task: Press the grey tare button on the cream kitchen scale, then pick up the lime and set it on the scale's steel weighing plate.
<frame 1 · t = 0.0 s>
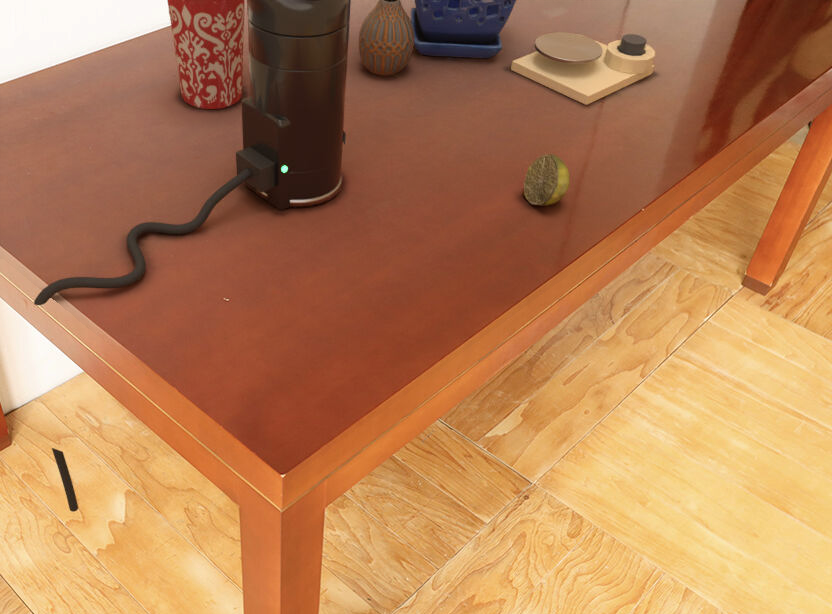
vase: (383, 70, 109), on the table
flower pot: (453, 44, 115), on the table
lime: (540, 202, 88), on the table
scale: (581, 72, 110), on the table
tare button: (632, 45, 108), point 3 cm above the table, slide at 0.1 cm
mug: (219, 91, 103), on the table
weighing plate: (567, 49, 107), resting on scale
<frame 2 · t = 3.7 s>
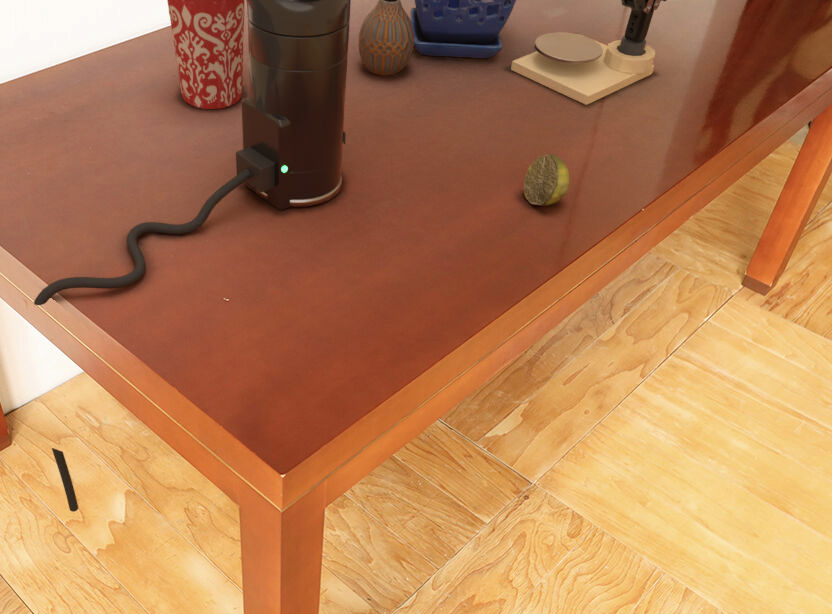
hand: (634, 39, 107), 4 cm above the table, tool pointing down, fingers closed
tare button: (632, 46, 108), point 3 cm above the table, slide at 0.0 cm, touching gripper
everything else where it was.
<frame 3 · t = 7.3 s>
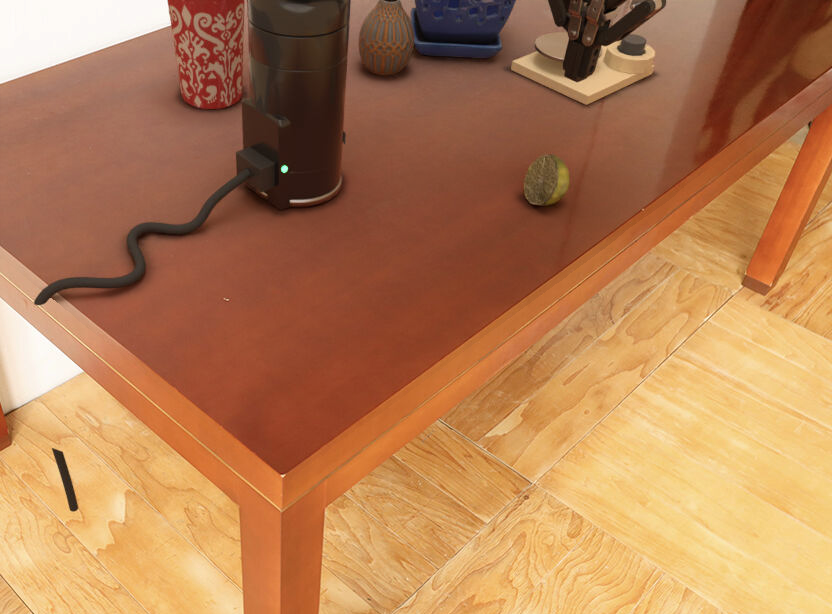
hand: (576, 77, 84), 11 cm above the table, tool pointing down, fingers closed
tare button: (632, 45, 108), point 3 cm above the table, slide at 0.1 cm
everything else where it was.
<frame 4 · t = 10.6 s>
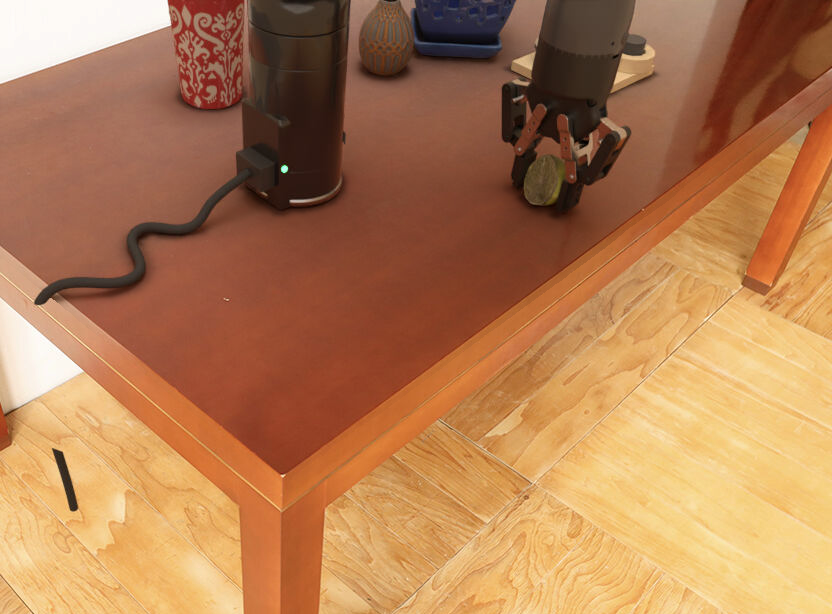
hand: (542, 197, 88), 0 cm above the table, tool pointing down, fingers closed on lime, 5 cm apart
lime: (540, 202, 88), on the table, touching gripper
everything else where it was.
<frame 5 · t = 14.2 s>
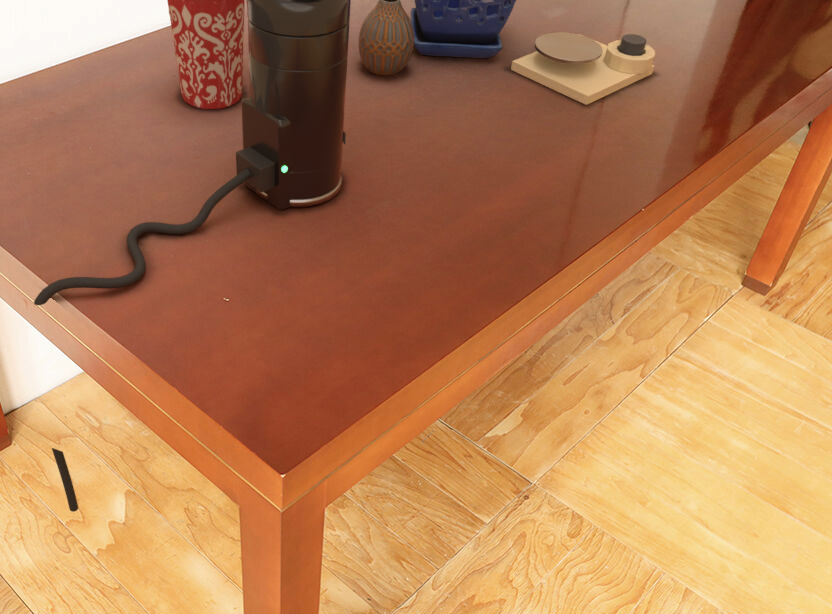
when the fingers open (4 cm above the table, at t = 17.7 s): lime stays where it is, resting on weighing plate.
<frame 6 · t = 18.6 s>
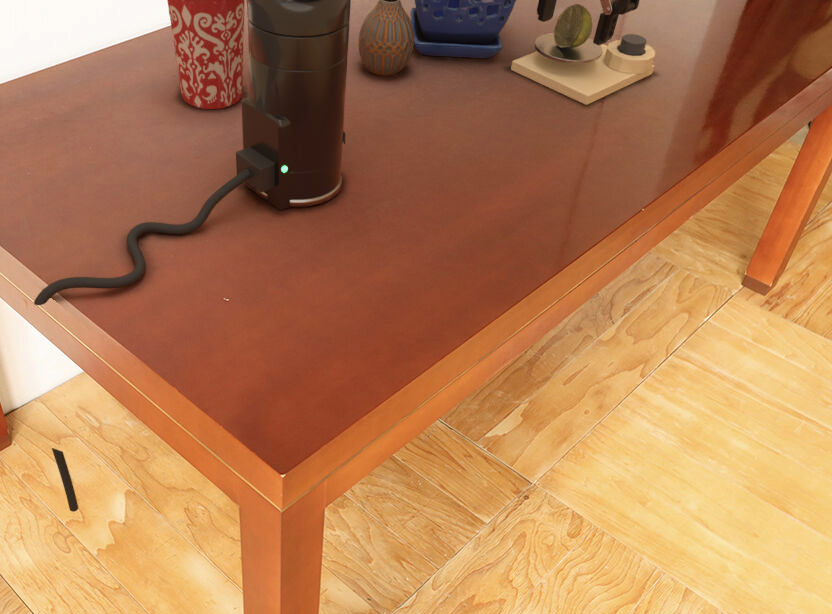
hand: (572, 31, 106), 5 cm above the table, tool pointing down, fingers open, 8 cm apart
lime: (568, 47, 107), point 3 cm above the table, touching weighing plate
everything else where it was.
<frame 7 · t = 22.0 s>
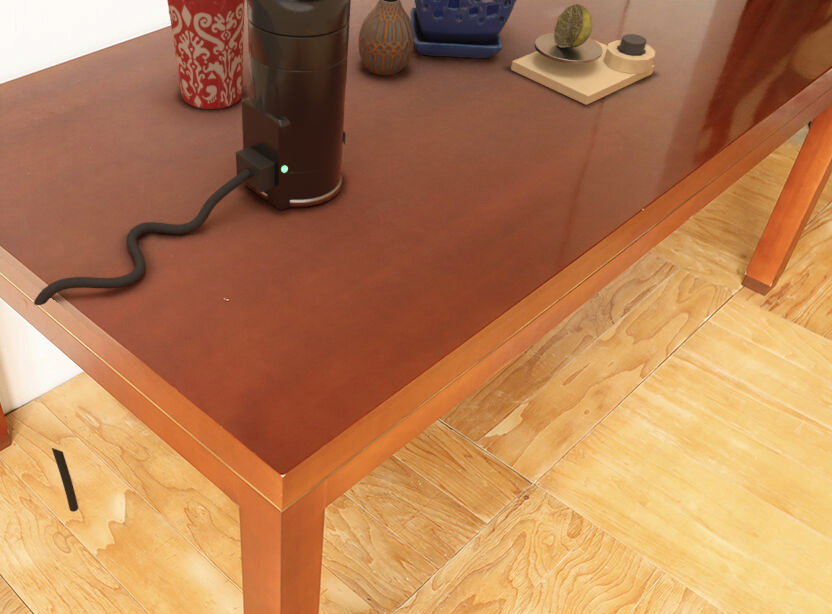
nothing on the table moved.
at the end: tare button pushed in 1.1 cm at the most during the clip, back to where it started at the end; tare button slide at 0.1 cm; lime inside the target area on the scale (2.5 cm from its centre), point 3.2 cm above the scale's base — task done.
